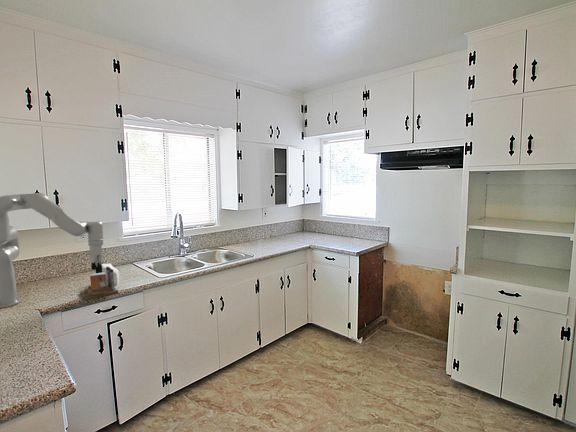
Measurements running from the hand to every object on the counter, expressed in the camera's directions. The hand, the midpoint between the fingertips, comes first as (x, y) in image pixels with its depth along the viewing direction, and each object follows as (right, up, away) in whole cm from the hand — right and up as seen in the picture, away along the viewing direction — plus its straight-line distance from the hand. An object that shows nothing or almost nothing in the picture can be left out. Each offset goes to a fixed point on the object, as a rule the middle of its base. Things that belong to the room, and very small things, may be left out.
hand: (96, 271), depth 190 cm
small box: (+1, -12, +2) cm, 12 cm away
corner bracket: (-4, -12, +21) cm, 24 cm away
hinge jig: (0, -14, +1) cm, 14 cm away
